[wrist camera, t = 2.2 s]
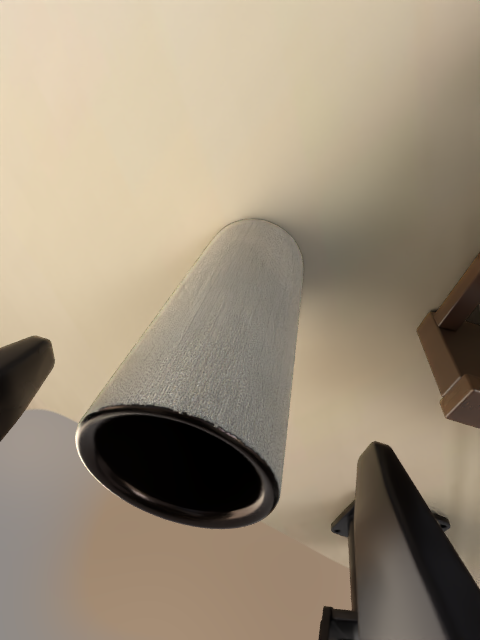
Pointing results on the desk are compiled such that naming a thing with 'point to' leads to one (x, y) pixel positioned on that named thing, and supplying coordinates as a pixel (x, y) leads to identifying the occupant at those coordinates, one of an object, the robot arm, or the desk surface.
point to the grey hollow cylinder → (206, 388)
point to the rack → (456, 349)
